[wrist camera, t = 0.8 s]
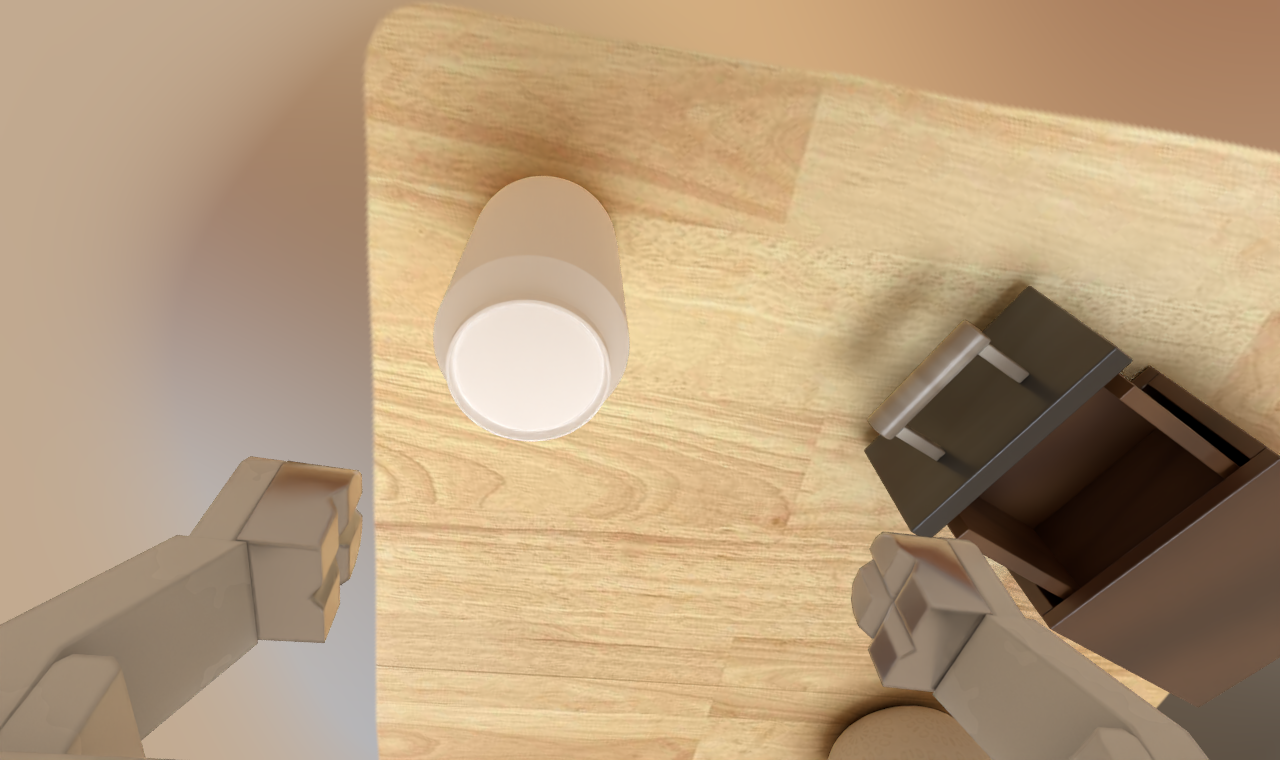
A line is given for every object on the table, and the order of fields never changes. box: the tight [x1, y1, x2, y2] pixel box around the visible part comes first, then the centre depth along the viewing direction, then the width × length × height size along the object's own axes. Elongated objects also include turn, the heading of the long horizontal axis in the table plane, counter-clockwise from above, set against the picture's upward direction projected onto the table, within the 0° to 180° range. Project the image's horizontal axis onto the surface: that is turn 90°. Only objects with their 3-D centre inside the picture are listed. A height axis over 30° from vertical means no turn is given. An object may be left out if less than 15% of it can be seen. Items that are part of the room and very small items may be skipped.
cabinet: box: [1006, 366, 1280, 707], centre depth 38 cm, size 14×13×8 cm
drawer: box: [864, 286, 1240, 600], centre depth 33 cm, size 17×11×6 cm
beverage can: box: [433, 176, 629, 441], centre depth 26 cm, size 6×6×12 cm
